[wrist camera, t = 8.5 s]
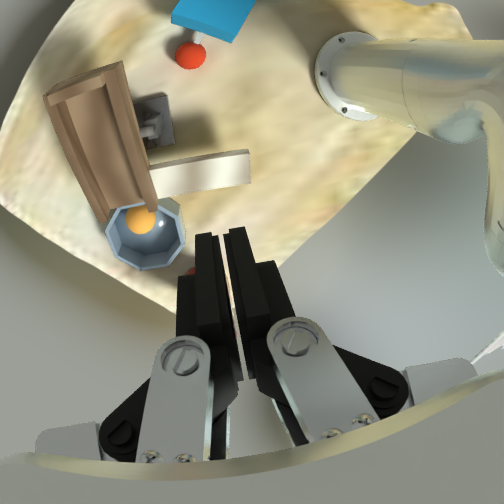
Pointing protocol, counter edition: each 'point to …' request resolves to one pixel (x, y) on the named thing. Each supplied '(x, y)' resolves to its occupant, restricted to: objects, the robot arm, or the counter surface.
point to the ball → (140, 219)
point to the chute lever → (126, 147)
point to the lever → (208, 25)
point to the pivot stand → (155, 121)
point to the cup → (148, 237)
